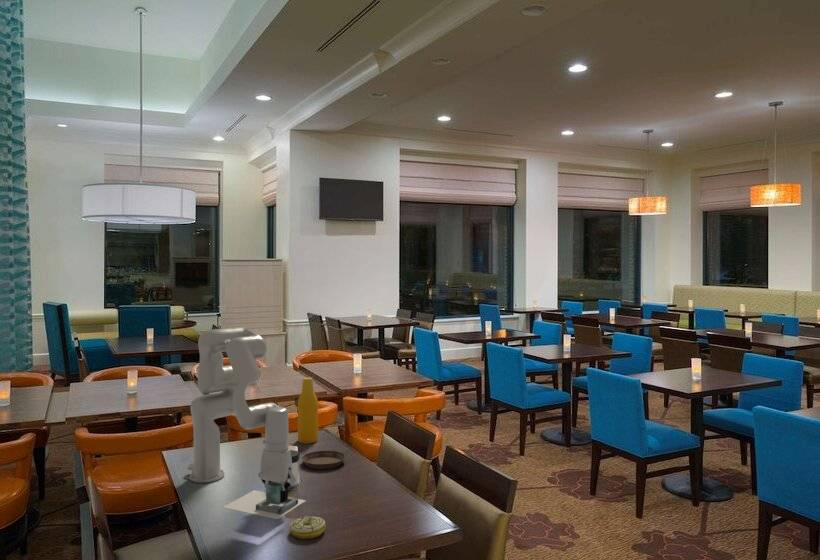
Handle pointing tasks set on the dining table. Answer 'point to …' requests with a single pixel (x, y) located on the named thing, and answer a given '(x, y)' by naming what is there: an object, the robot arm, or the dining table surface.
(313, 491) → the dining table surface
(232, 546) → the dining table surface
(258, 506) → the board
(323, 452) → the plant saucer
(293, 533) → the decorated donut
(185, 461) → the dining table surface
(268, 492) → the teal block
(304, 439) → the beer bottle
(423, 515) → the dining table surface
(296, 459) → the jar
